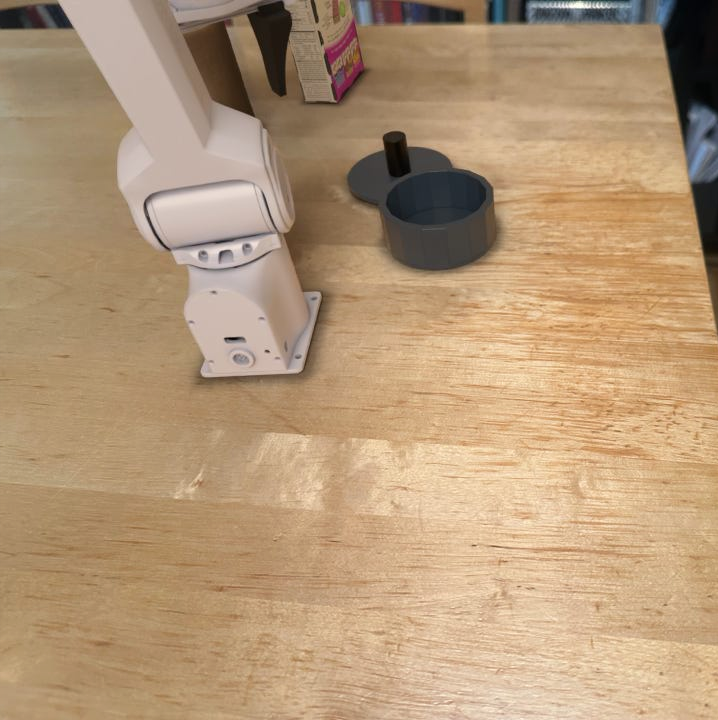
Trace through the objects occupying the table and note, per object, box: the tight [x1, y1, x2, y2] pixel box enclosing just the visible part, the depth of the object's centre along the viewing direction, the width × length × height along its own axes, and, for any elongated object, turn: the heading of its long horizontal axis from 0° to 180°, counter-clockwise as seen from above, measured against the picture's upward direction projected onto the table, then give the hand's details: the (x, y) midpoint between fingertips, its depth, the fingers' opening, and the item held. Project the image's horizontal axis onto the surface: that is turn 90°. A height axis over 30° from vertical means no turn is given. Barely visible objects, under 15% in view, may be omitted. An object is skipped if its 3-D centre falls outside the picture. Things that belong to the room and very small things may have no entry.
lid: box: [346, 130, 453, 205], centre depth 68 cm, size 11×11×5 cm
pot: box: [377, 167, 497, 271], centre depth 61 cm, size 10×10×4 cm
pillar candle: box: [182, 20, 256, 118], centre depth 74 cm, size 10×10×15 cm
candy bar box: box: [285, 0, 365, 104], centre depth 83 cm, size 11×5×16 cm, turn 168°
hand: (241, 105), depth 61 cm, fingers open, 7 cm apart
